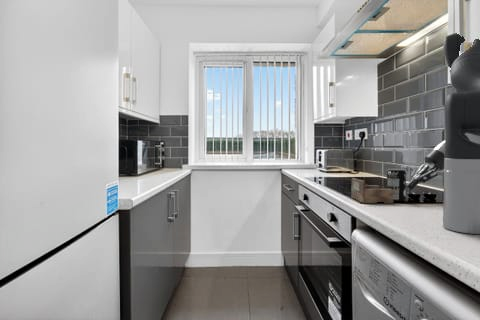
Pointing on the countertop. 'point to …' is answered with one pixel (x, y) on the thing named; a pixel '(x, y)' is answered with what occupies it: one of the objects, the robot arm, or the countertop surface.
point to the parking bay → (370, 192)
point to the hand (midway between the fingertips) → (408, 188)
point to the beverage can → (397, 183)
